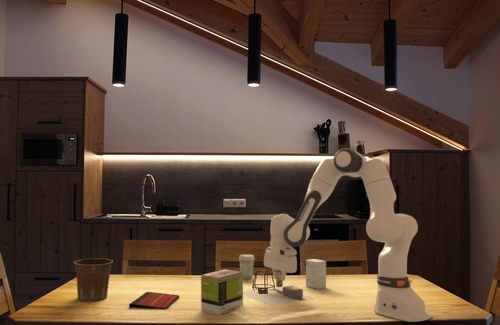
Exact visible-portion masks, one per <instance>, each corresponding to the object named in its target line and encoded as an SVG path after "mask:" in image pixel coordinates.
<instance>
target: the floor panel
mask: <svg viewBox="0 0 500 325" xmlns="http://www.w3.org/2000/svg"><path fill="white" fill-rule="evenodd" d="M274 287H275V288H274V289H273V290H272V289H269V292H268V294H259V293H258V292H257V291H254V290H255V289H251V290H243V296H244V295H245V296H246V297H249V298H251V299H254V300H255V301H258V302H261V303H263V304H265V305H268V306H270V307H272V306H277V305H283V304H290V303H297V302H302V301H307V300H308V301H309V300H313V298H311V297H309V296H306V295H303V298H296V299H292V298H290V297H287V296H284V295H283V287H276V286H274Z"/></svg>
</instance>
